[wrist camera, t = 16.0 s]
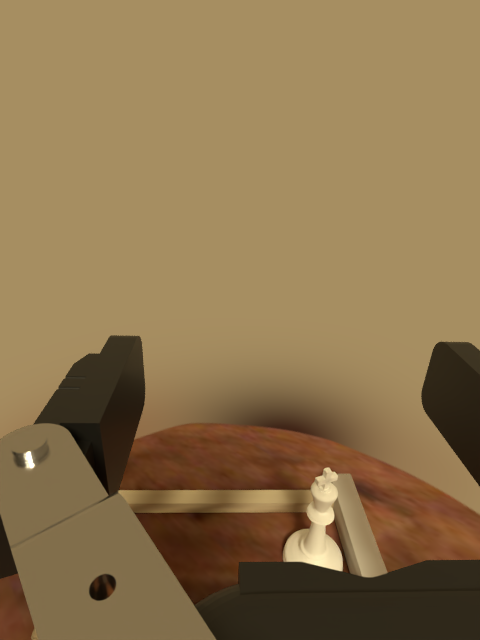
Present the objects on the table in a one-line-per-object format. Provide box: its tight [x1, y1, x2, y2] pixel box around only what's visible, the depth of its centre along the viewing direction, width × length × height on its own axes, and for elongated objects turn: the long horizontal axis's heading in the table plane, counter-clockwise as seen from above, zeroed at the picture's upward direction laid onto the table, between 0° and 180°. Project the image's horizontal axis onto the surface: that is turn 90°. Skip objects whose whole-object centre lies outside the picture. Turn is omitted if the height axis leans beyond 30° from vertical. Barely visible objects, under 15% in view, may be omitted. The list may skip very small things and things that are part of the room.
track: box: [31, 474, 387, 640], centre depth 32 cm, size 25×14×2 cm, turn 92°
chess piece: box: [283, 468, 343, 571], centre depth 31 cm, size 5×5×10 cm
